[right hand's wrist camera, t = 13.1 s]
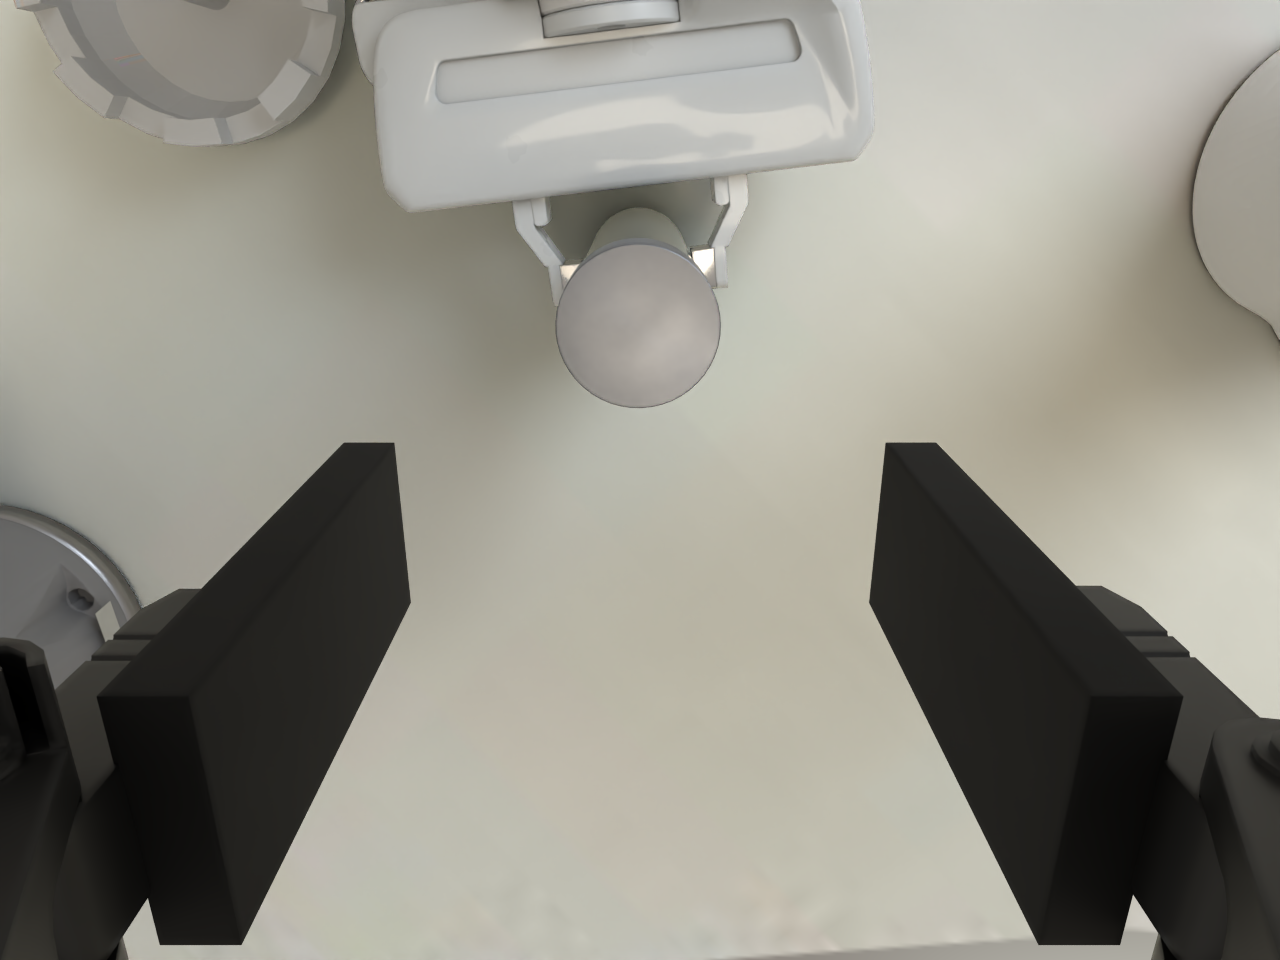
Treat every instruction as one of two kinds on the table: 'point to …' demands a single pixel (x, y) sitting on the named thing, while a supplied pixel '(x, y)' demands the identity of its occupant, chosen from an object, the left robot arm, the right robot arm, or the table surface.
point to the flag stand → (194, 62)
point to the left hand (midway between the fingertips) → (641, 295)
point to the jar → (639, 229)
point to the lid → (638, 323)
